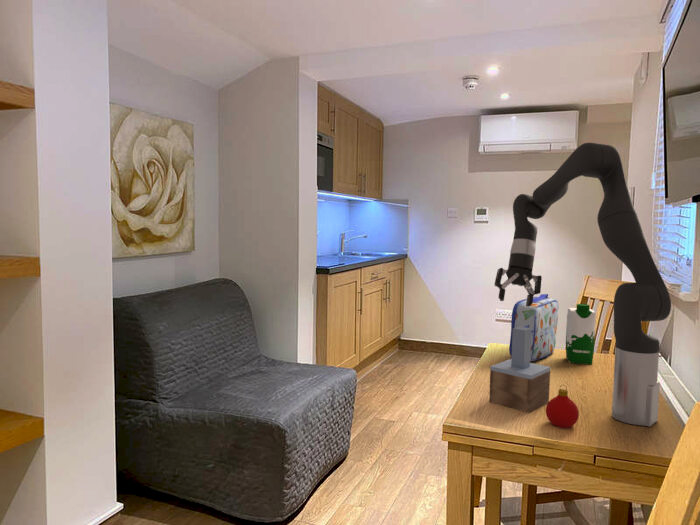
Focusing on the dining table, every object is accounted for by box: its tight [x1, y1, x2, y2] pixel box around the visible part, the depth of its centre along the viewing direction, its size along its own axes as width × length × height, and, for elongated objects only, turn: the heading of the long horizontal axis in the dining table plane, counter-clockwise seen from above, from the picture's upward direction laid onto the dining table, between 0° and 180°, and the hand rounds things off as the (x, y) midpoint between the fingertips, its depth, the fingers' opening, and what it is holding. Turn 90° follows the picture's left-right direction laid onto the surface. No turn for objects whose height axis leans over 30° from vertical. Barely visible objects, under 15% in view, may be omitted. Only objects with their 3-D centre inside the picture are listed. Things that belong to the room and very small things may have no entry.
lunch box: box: [508, 293, 559, 362], centre depth 185 cm, size 28×10×22 cm, turn 143°
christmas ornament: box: [545, 384, 580, 429], centre depth 121 cm, size 7×7×10 cm
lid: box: [490, 327, 551, 379], centre depth 135 cm, size 11×11×12 cm
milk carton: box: [565, 303, 597, 365], centre depth 179 cm, size 9×9×20 cm
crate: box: [488, 370, 551, 414], centre depth 135 cm, size 11×11×9 cm
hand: (514, 303), depth 168 cm, fingers open, 8 cm apart
